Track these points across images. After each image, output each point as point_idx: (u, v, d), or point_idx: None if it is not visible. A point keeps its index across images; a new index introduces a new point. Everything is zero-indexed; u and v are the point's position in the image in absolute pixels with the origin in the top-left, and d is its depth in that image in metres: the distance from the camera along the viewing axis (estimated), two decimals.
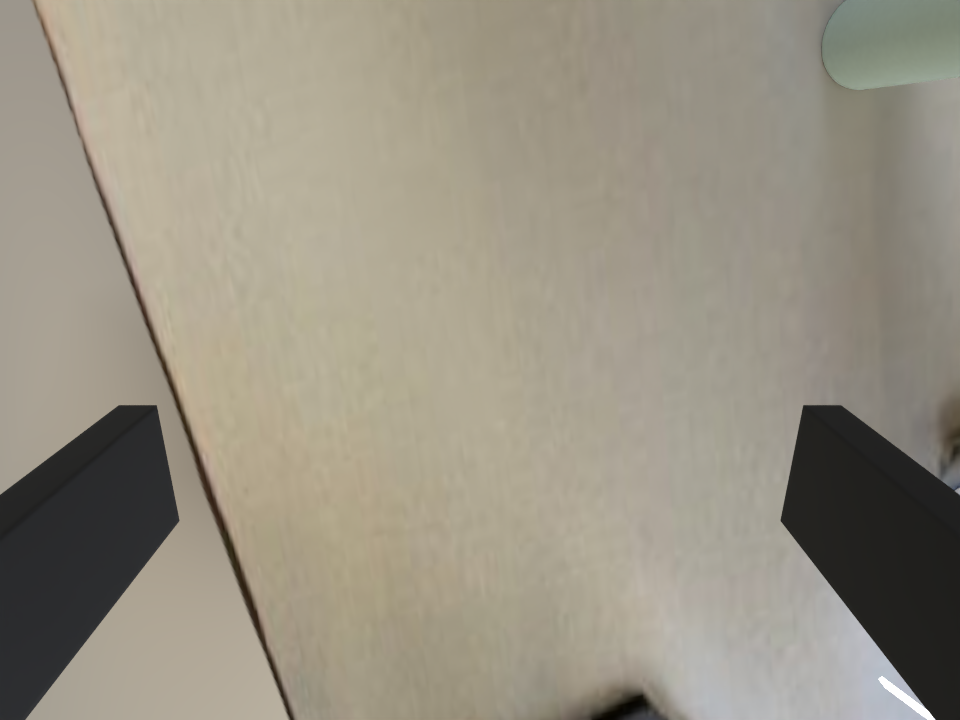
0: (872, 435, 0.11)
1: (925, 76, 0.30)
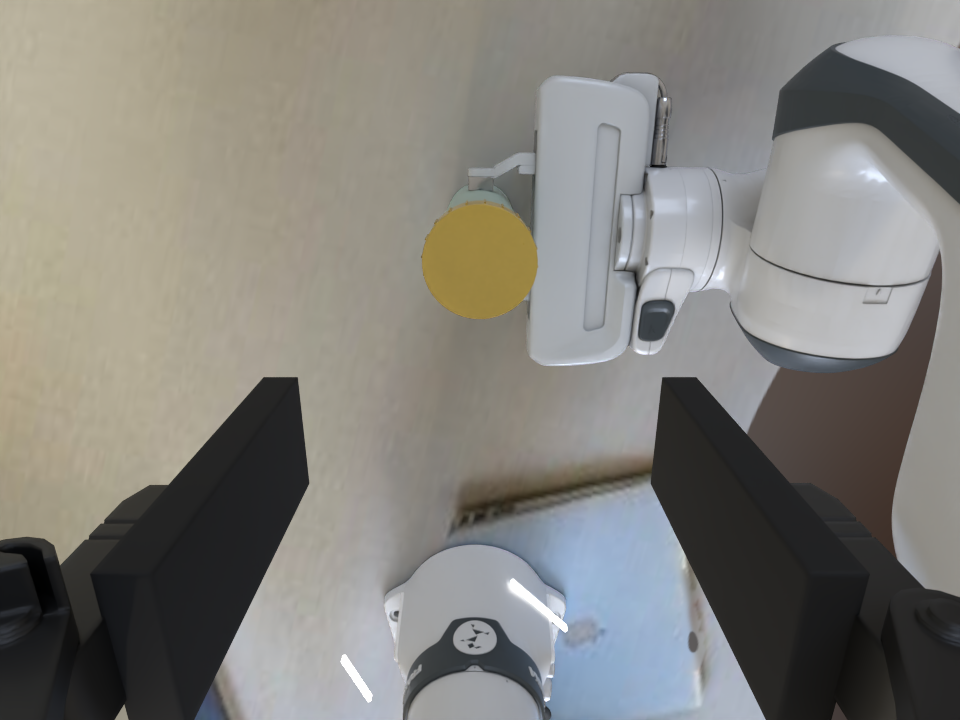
0: (709, 401, 0.12)
1: None
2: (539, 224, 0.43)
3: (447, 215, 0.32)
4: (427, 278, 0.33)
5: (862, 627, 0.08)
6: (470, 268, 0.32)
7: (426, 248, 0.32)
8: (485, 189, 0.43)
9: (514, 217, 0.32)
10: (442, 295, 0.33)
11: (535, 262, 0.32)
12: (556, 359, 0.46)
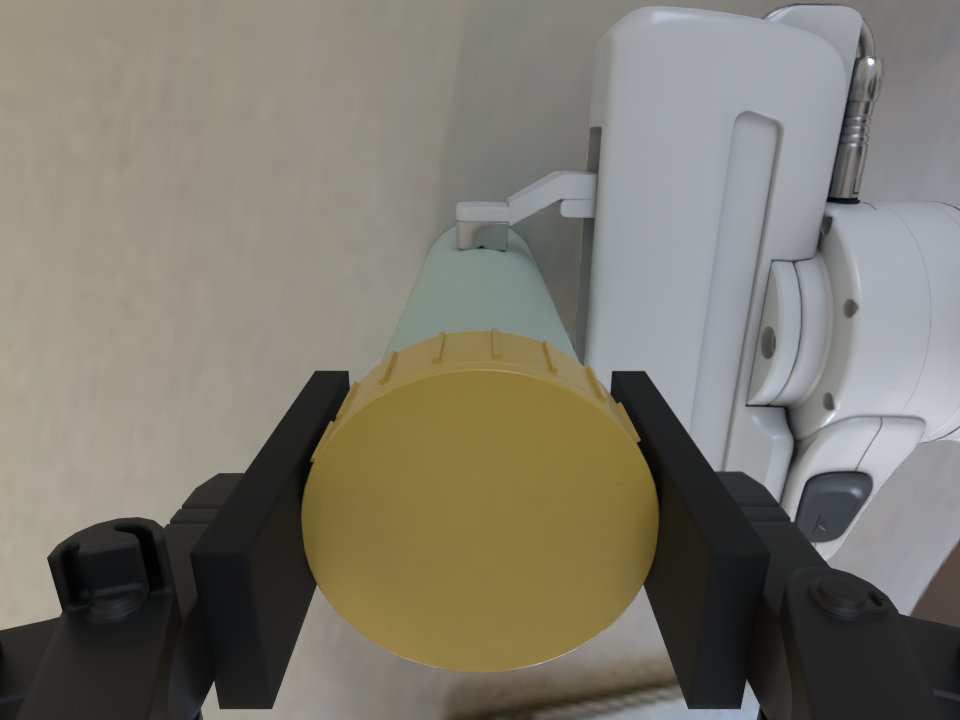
0: (653, 393, 0.13)
1: None
2: (601, 318, 0.21)
3: (373, 401, 0.10)
4: (320, 574, 0.11)
5: (764, 604, 0.08)
6: (450, 548, 0.11)
7: (311, 495, 0.10)
8: (491, 247, 0.21)
9: (593, 408, 0.10)
10: (368, 616, 0.11)
11: (652, 533, 0.10)
12: None
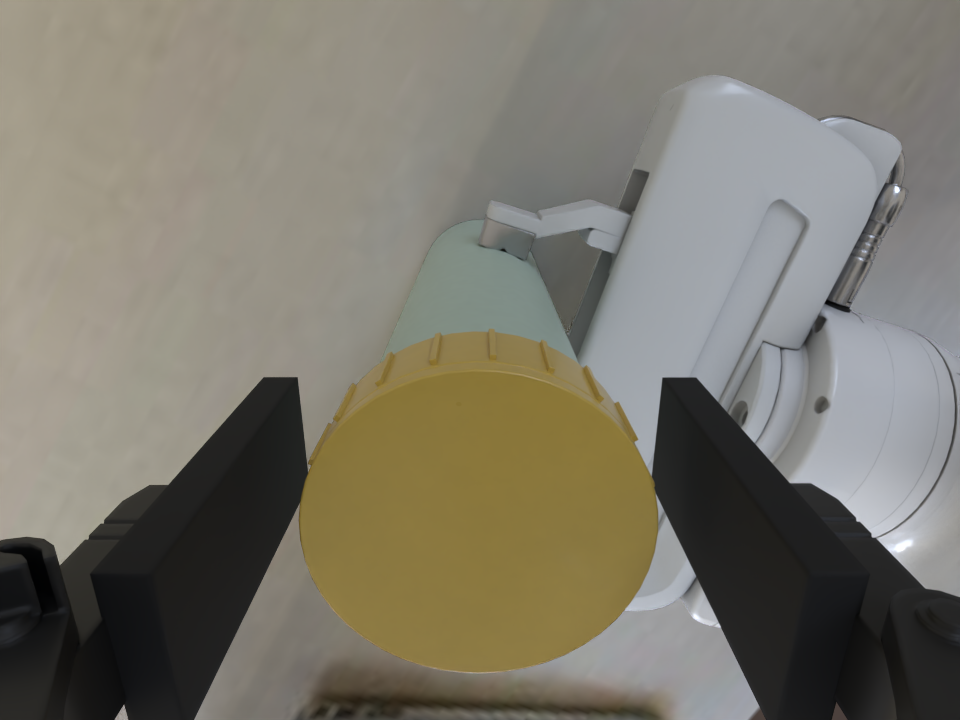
0: (710, 401, 0.12)
1: None
2: (595, 350, 0.22)
3: (314, 576, 0.11)
4: (474, 668, 0.11)
5: (862, 627, 0.08)
6: (484, 564, 0.11)
7: (391, 648, 0.11)
8: (512, 252, 0.21)
9: (366, 408, 0.10)
10: (535, 648, 0.11)
11: (531, 384, 0.09)
12: None
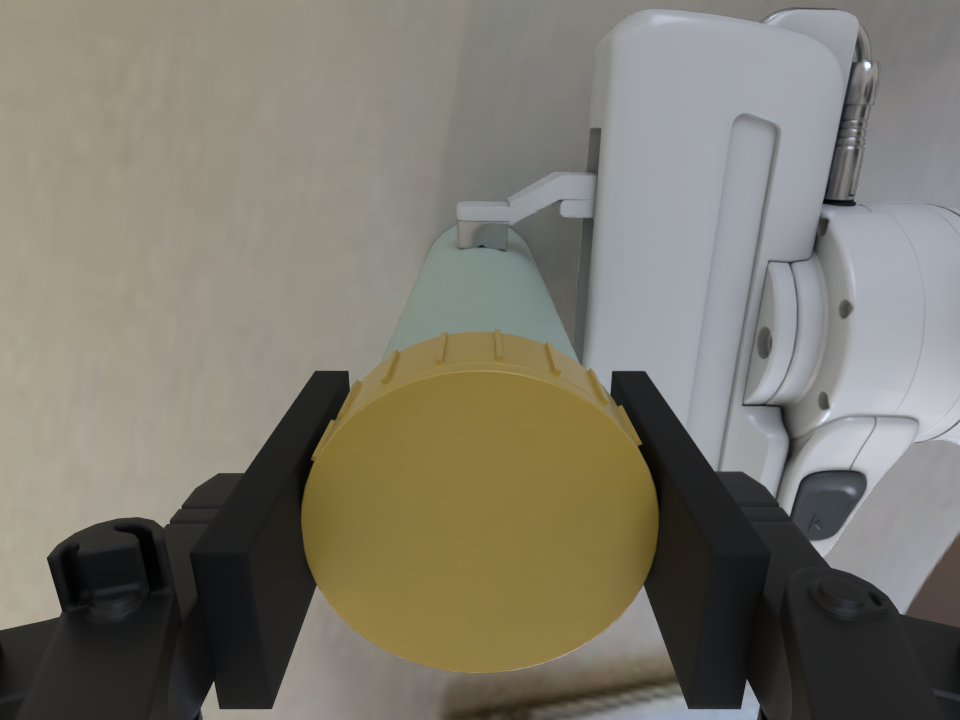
0: (653, 393, 0.13)
1: None
2: (599, 318, 0.21)
3: (340, 612, 0.11)
4: (520, 664, 0.11)
5: (764, 604, 0.08)
6: (494, 561, 0.11)
7: (434, 662, 0.11)
8: (491, 246, 0.21)
9: (332, 442, 0.10)
10: (572, 631, 0.11)
11: (478, 378, 0.09)
12: None
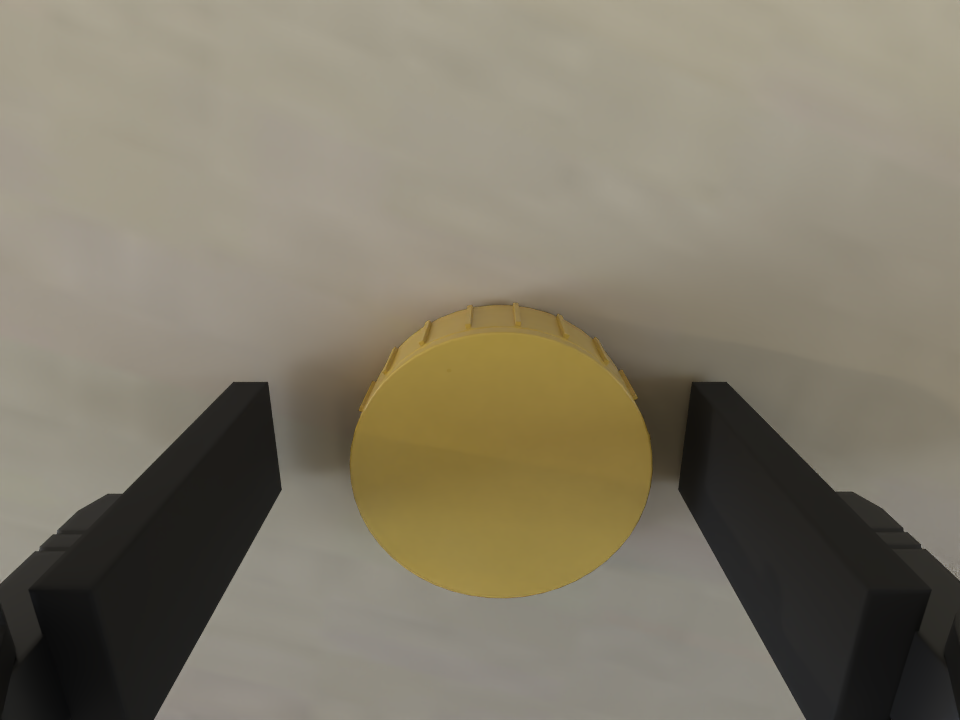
0: (743, 407, 0.12)
1: None
2: None
3: (380, 542, 0.13)
4: (533, 590, 0.13)
5: (923, 644, 0.07)
6: (512, 498, 0.13)
7: (460, 588, 0.13)
8: None
9: (378, 393, 0.12)
10: (578, 561, 0.13)
11: (501, 338, 0.11)
12: None
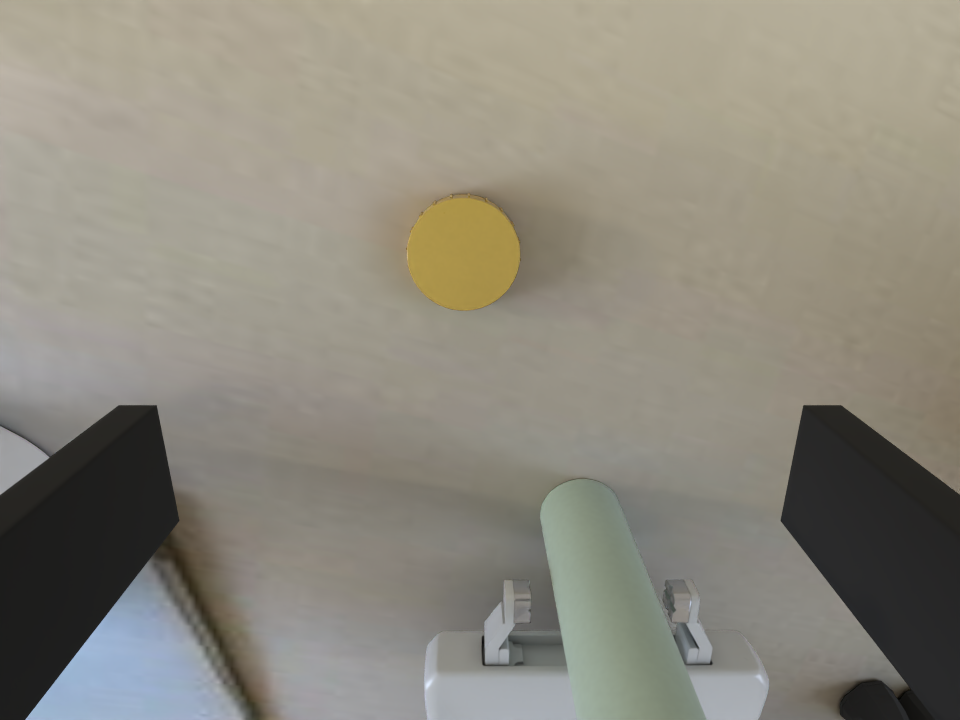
0: (872, 435, 0.11)
1: (569, 559, 0.34)
2: None
3: (418, 285, 0.34)
4: (477, 306, 0.34)
5: None
6: (468, 265, 0.33)
7: (449, 306, 0.34)
8: (674, 614, 0.35)
9: (418, 222, 0.32)
10: (494, 292, 0.34)
11: (462, 200, 0.32)
12: (435, 706, 0.35)
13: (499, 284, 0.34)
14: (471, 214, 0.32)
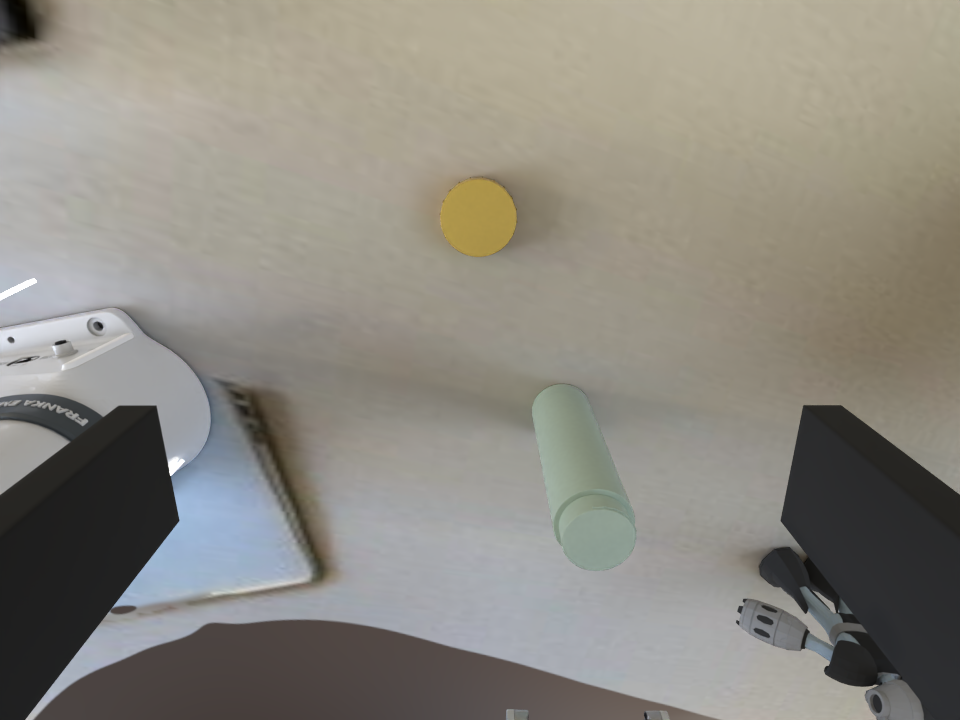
0: (872, 435, 0.11)
1: (549, 426, 0.50)
2: None
3: (447, 239, 0.50)
4: (487, 253, 0.50)
5: None
6: (481, 225, 0.49)
7: (468, 253, 0.50)
8: None
9: (448, 195, 0.48)
10: (499, 244, 0.50)
11: (478, 180, 0.48)
12: None
13: (502, 238, 0.50)
14: (483, 190, 0.48)
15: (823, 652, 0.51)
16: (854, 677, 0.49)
